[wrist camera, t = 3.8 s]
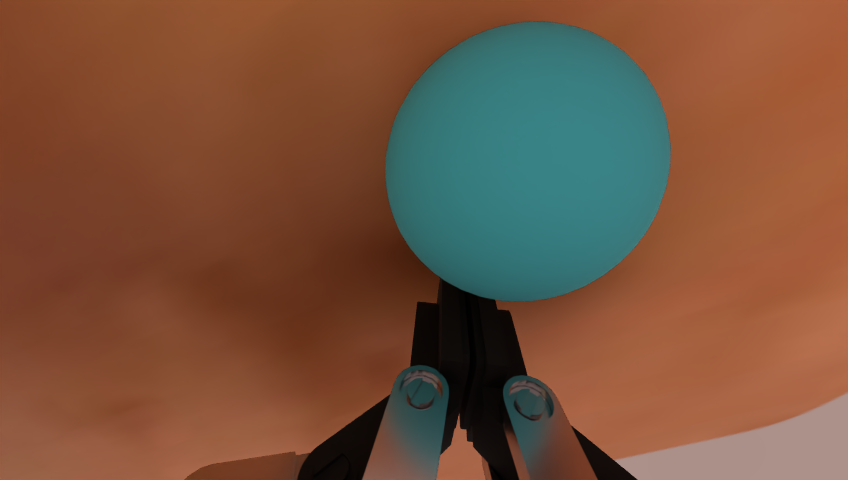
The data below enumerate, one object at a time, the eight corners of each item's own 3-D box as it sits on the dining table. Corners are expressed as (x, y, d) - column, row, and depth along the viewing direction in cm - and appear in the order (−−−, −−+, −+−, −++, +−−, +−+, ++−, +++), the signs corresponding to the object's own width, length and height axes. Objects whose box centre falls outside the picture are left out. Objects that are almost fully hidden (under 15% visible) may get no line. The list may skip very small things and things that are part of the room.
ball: (350, 298, 4) (425, -133, 4) (370, 272, 10) (400, 92, 10) (755, 355, 5) (787, -18, 5) (545, 299, 11) (568, 130, 11)
